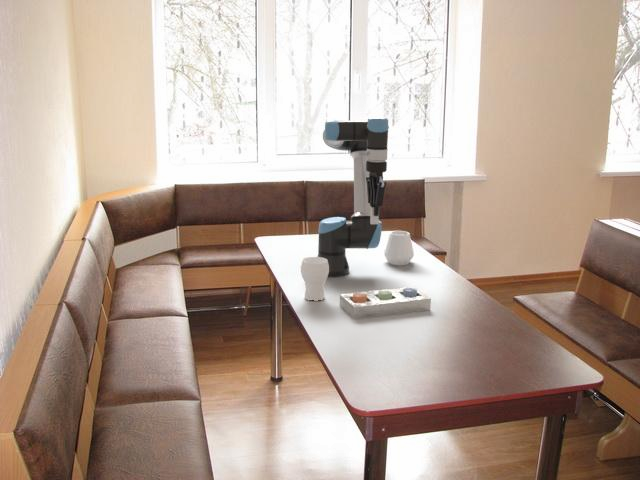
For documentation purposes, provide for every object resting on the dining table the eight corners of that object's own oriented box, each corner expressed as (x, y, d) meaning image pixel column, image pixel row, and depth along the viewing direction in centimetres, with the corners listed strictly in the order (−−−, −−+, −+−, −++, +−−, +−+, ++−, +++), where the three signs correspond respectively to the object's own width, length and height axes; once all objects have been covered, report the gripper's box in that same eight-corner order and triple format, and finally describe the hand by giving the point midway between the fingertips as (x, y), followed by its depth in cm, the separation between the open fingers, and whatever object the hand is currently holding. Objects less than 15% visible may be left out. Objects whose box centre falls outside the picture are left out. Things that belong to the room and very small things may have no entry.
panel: (339, 305, 245) (339, 294, 244) (412, 297, 255) (413, 286, 254) (354, 319, 232) (354, 307, 231) (430, 310, 242) (430, 298, 241)
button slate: (399, 301, 248) (400, 288, 247) (412, 300, 250) (413, 287, 249) (406, 306, 244) (406, 293, 242) (418, 304, 245) (419, 291, 244)
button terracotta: (350, 307, 242) (350, 294, 241) (363, 305, 244) (363, 292, 242) (355, 311, 237) (356, 298, 236) (369, 310, 239) (369, 297, 238)
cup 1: (325, 303, 247) (326, 265, 244) (297, 301, 249) (297, 263, 246) (330, 294, 257) (331, 257, 254) (304, 292, 259) (304, 255, 256)
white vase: (418, 261, 304) (419, 231, 300) (405, 268, 293) (407, 237, 289) (391, 256, 311) (393, 227, 307) (378, 263, 300) (379, 233, 296)
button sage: (375, 304, 245) (375, 291, 244) (388, 302, 247) (388, 290, 246) (381, 309, 240) (381, 295, 239) (394, 307, 242) (394, 294, 241)
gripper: (360, 158, 246) (358, 220, 252) (374, 163, 234) (372, 228, 240) (378, 157, 249) (376, 219, 255) (393, 162, 237) (391, 227, 243)
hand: (374, 223), depth 247 cm, fingers closed
